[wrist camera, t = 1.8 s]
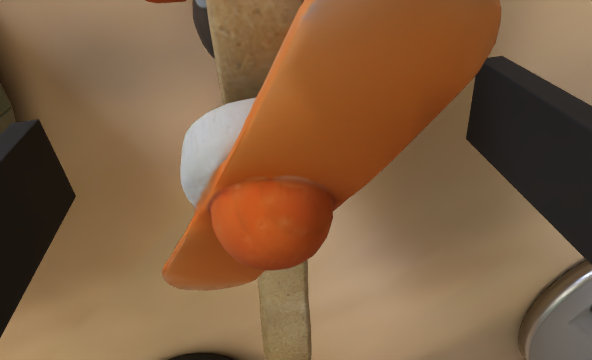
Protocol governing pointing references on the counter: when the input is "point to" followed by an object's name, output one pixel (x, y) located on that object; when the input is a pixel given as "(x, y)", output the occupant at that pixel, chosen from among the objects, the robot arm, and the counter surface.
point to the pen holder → (201, 357)
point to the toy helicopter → (308, 132)
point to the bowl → (5, 111)
